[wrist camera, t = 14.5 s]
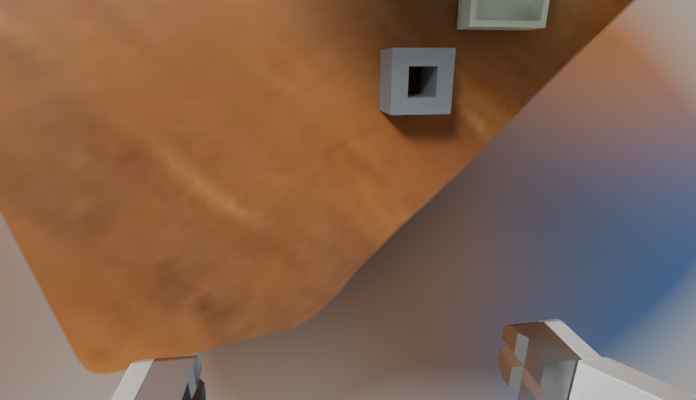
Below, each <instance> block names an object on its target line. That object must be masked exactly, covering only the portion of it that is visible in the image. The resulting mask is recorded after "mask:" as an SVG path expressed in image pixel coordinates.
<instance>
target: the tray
mask: <svg viewBox="0 0 696 400" xmlns="http://www.w3.org/2000/svg"><path fill="white" fill-rule="evenodd" d="M549 1H550V0H459V3H458V15H457V27H456V30H527V31H528V30H534V29H541V28H545V27H546V20H547V14H548V7H549Z"/></svg>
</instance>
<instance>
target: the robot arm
mask: <svg viewBox="0 0 696 400" xmlns="http://www.w3.org/2000/svg"><path fill="white" fill-rule="evenodd" d="M502 339H503V340H504V341H505V345H504V346H503V347H502V348H501V349H500V351H499V359H498V362H499V367H500V372H501V374H502V376H503V379H504V380H505V382H506V383H507V385H508V386H509V387H510V388H512V389H514V390H515V391H517V392H519V396H518V400H696V396H695V395H692V394H690V393H688V392H686V391H683V390H681V389H679V388H676V387H674V386H672V385H670V384H668V383H665V382H663V381H661V380H658V379H656V378H654V377H651V376H649V375H647V374H645V373H642V372H640V371H638V370H635V369H633V368H631V367H629V366H626V365H624V364H622V363H619V362H617V361H615V360H612V359H610V358H608V357H605V358H602V357H601V356H600V355H598V354H597V353H596V352H595V351H594V350H593V349H592V348H590V346H589V345H587V344H586V343H585V342H584V341H583V340H582V339H581V338H580V337H579V336H578V335H577V334H575V333H574V332H573V331H572V330H571V329H570V328H569V327H568V326H567V325H566V324H564V323H563V322H562V321H560V320H558V319H550V320H543V321H539V322H529V323H520V324H509V325H505V327H504V329H503V332H502ZM201 370H202V364H201V359H200V357H199V356H198V355H196V356H182V357H168V358H157V359H147V360H135V361H134V362H132V363H131V364H130V365H129V367H128V369H127V371H126V373H125V375H124V377H123V379H122V380H121V382H120V384H119V386H118V388H117V390H116V392H115V393H114V395H113V397H112V399H111V400H206V390H205V383H204V382H203V381H202V380H201V379H200V375H201Z"/></svg>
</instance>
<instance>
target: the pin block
mask: <svg viewBox="0 0 696 400" xmlns="http://www.w3.org/2000/svg"><path fill="white" fill-rule="evenodd" d="M455 54H456V48H388V49H382V50H380V82H379V110H380V111H382V112H385V113H387V114H389V115H427V114H450V113H451V102H452V90H453V78H454V66H455ZM409 66H421V70H420V88H419V94H408V78H409Z"/></svg>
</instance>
